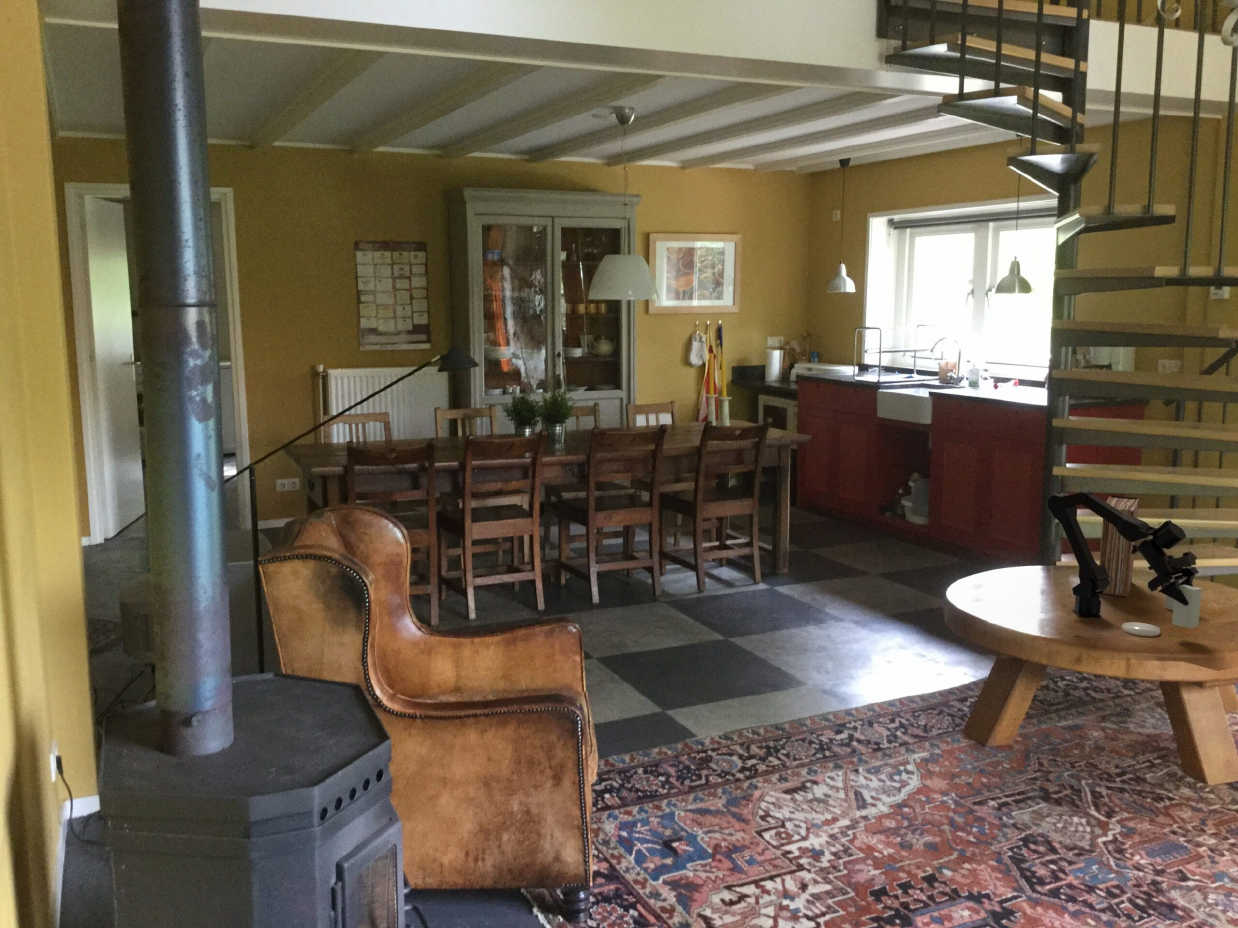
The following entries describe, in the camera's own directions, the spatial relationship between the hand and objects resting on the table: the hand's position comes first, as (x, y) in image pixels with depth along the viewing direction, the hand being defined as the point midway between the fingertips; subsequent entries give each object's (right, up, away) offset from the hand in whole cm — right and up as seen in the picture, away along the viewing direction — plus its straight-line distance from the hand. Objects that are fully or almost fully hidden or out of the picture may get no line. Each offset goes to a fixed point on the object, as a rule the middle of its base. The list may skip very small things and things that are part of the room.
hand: (1192, 603), depth 297 cm
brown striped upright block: (+6, -3, +59) cm, 59 cm away
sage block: (-1, -6, +2) cm, 7 cm away
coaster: (-10, -10, +10) cm, 17 cm away
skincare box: (+14, -7, +34) cm, 37 cm away
